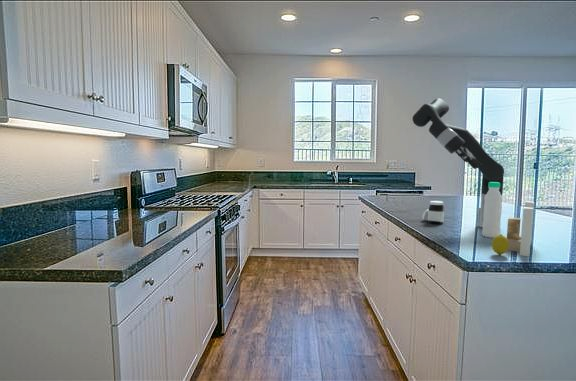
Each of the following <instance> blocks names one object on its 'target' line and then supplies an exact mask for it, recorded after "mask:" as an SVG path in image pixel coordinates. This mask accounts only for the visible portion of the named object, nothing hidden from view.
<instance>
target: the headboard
mask: <svg viewBox="0 0 576 381" xmlns="http://www.w3.org/2000/svg"><path fill="white" fill-rule="evenodd" d="M522 208H523V209H522V220H521V221H522V222H521V231H520V232H521V233H520V235H519V239H521V240H515V239H508V242H509V248H508V251H511V252H517V253H518V252H519V256H524V257H530V255H531V254H530V253H531V245H532V234H533V233H532V232H533V225H534V224H533V222H534V209H535V201H528V200H526V201H525V204H524V207H522Z"/></svg>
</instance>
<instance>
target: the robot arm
mask: <svg viewBox="0 0 576 381" xmlns="http://www.w3.org/2000/svg"><path fill="white" fill-rule="evenodd" d="M449 110H450V106H449V104H448V103H447V102H446V101H445V100H443V99H442V98H439V97H438V98H436V99H434V100H432V102H431V103H424V104H422V106H420V108H419V109H418V110H417V111H416V112H415V113H414V114H413V116H412V119H411V120H412V123H413V124H414V125H415V126H416V127H419V128H423V127H425V126H427V124H428V123H429V122H432V123H431V125H430V126H429V128H428V132H429V133H430V134H431V135H432V137H434V138H435V139H436V140H437V141H438V143H439V144H441V145H442V146H443V147H444V148H445V150H446V151H447V152H449V154H454V153H455V154H456V155H457V156H458V157H460V158H461V160H463V161H464V162H465V163H466V164H468V165H470V166H471V167H472V168H473V170H476V169H478V170H479V171H480V173H481V174H482V179H481V180H482V181H481V182H482V183H481V195H480V196H481V197H480V199H481V200H480V207H479V208H478V211H477V212H478V214H477V227H479V228H482V229H483V220H484V218H483V214H484V203H485V200H484V198H485V195H486V194H487V192H488V191H489V188H488V183H489V182H499V183H500V188H499V192H500V195H501V196H502V197H503V192H504V177H505V176H504V174H505V168H504V167H503V165H502V164H501V163H499V162H497V160H495V159H494V158H492V157H491V155H489V154H488V153H487V152H486V151H485V149H484V148H483V146H482V145H481V144H480V142H479V141H478V140H477V139H476V137H475V136H474V135H473V134H472V133H471V132H470V131H469V130H468V129H466V128H465V127H464V128H463V127H460V126H455V125H451V124H448V123H446V122H444V121H443V119H441V118H442V117H444V116H445V115H446V114H448V112H449ZM500 222H501V220H500Z"/></svg>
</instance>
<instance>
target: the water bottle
mask: <svg viewBox="0 0 576 381" xmlns="http://www.w3.org/2000/svg"><path fill="white" fill-rule="evenodd" d="M488 188H489V191H488V192H487V194H486V195H485V198H484V200H485V203H484V214H483V218H484V220H483V228H482V231H481V235H482V236H483V237H484V236H485V238H488V237H489V239H494V237H496V236H498V235H500V234H501V230H500V229H501V221H500V220H501V218H502V207H503V206H502V204H503V195H502V196H501V195H500V192H499V188H500V183H499V182H489V183H488Z"/></svg>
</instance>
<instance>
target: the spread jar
mask: <svg viewBox="0 0 576 381" xmlns="http://www.w3.org/2000/svg"><path fill="white" fill-rule="evenodd" d="M421 218H422V220H424V221H428V223H429V224H432V225H442V224H444V221H445V206H444V201H442V200H430V201H429V207H428V208H427V209H426V210H424V212H423V213H422V215H421Z"/></svg>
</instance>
